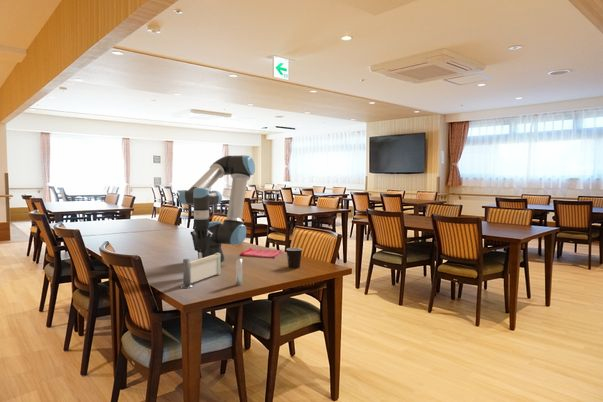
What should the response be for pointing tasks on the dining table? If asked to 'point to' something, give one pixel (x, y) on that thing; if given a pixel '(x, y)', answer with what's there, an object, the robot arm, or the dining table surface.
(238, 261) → the gate posts
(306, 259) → the dining table surface
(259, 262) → the dining table surface
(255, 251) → the dish towel
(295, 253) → the coffee mug
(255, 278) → the dining table surface
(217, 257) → the gate
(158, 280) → the dining table surface
